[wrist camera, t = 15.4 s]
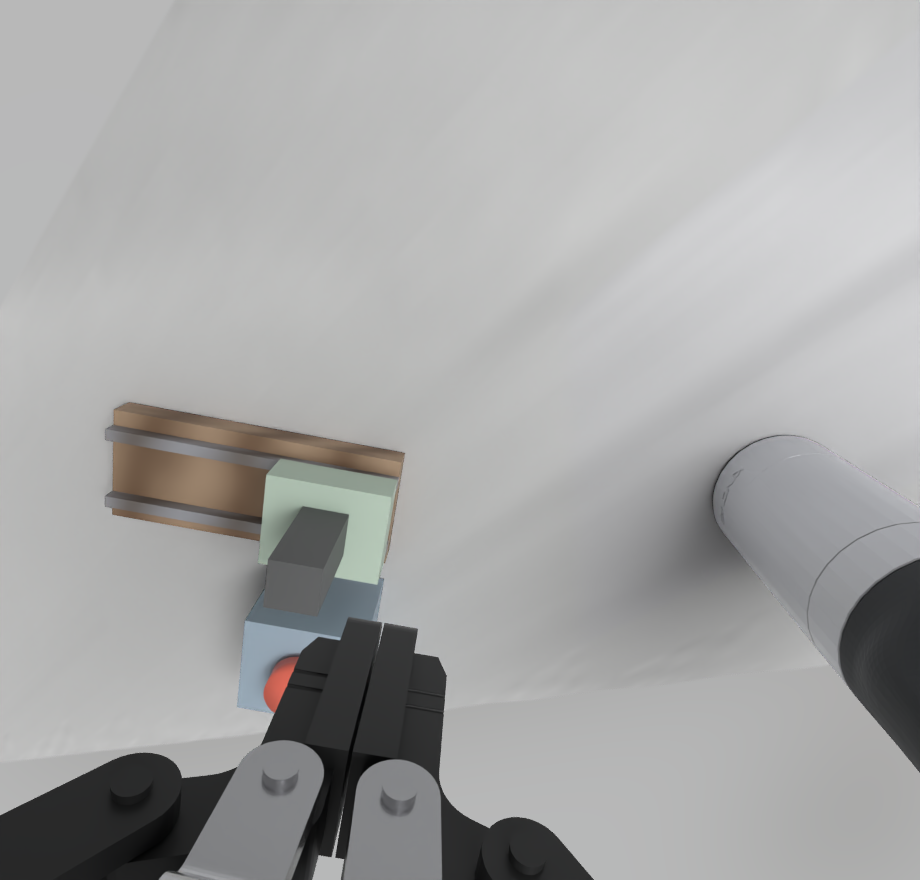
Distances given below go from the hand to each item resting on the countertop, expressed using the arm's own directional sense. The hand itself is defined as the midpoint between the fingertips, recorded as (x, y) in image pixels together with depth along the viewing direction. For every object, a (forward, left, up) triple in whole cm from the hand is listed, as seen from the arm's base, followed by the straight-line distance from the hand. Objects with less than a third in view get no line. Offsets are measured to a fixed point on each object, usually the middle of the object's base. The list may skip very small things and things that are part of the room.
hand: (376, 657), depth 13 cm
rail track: (+12, +11, -32) cm, 36 cm away
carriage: (+6, +11, -29) cm, 31 cm away
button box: (+6, +21, -32) cm, 39 cm away
